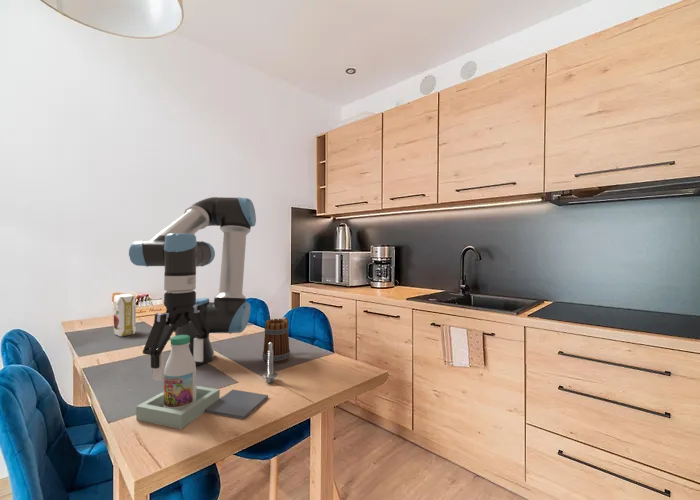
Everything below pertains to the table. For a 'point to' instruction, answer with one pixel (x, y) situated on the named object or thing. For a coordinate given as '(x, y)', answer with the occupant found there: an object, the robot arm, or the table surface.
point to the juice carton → (124, 314)
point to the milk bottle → (180, 375)
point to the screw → (270, 366)
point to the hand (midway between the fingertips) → (179, 370)
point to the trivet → (236, 404)
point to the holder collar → (176, 418)
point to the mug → (277, 340)
